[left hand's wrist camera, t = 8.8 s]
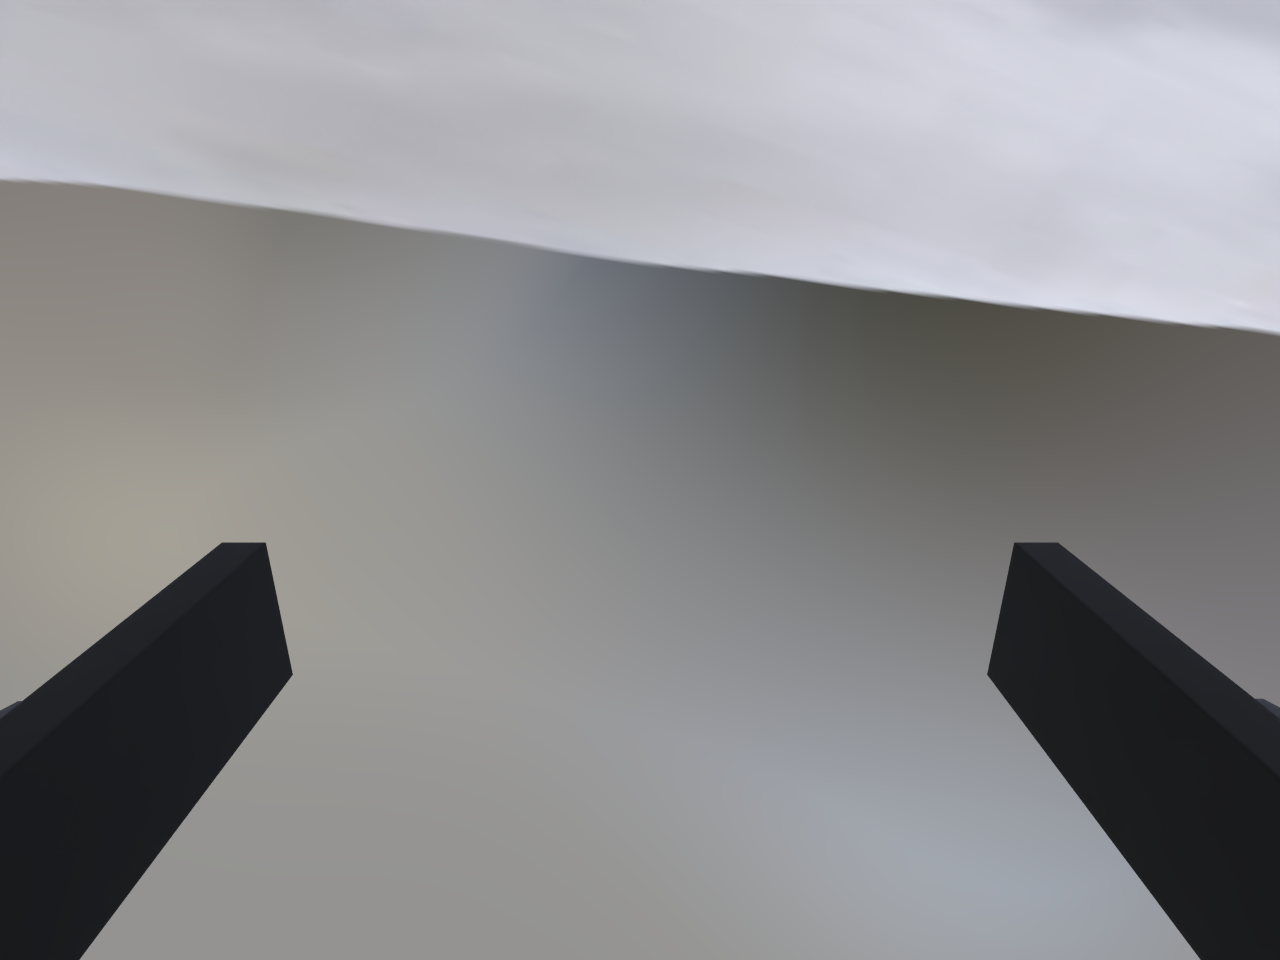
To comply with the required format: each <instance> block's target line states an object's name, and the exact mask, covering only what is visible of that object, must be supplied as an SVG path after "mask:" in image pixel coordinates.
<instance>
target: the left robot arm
mask: <svg viewBox="0 0 1280 960" xmlns="http://www.w3.org/2000/svg"><path fill="white" fill-rule="evenodd" d="M292 675H293V673H292V669H291V664H290V659H289V654H288V649H287V644H286V639H285V635H284V630H283V625H282V620H281V615H280V610H279V605H278V600H277V595H276V591H275V586H274V581H273V576H272V571H271V566H270V561H269V556H268V551H267V547H266V543H221V544H220V545H219V546H217V547H216V548H215V549H213V550H212V551H211V552H210V553H208V554H207V555H206V556H205V557H203V558H202V559H201V560H200V561H198V562H197V563H196V564H195V565H193V566H192V567H191V568H190V569H188V570H187V571H186V572H184V573H183V574H182V575H181V576H179V577H178V578H177V579H176V580H174V581H173V582H172V583H171V584H169V585H168V586H167V587H166V588H164V589H163V590H162V591H161V592H159V593H158V594H157V595H155V596H154V597H153V598H152V599H150V600H149V601H148V602H147V603H145V604H144V605H143V606H142V607H140V608H139V609H138V610H137V611H135V612H134V613H133V614H132V615H130V616H129V617H128V618H126V619H125V620H124V621H123V622H121V623H120V624H119V625H118V626H116V627H115V628H114V629H113V630H111V631H110V632H109V633H108V634H106V635H105V636H104V637H103V638H101V639H100V640H99V641H98V642H96V643H95V644H94V645H92V646H91V647H90V648H89V649H87V650H86V651H85V652H84V653H82V654H81V655H80V656H79V657H77V658H76V659H75V660H74V661H72V662H71V663H70V664H69V665H67V666H66V667H65V668H63V669H62V670H61V671H60V672H58V673H57V674H56V675H55V676H53V677H52V678H51V679H50V680H48V681H47V682H46V683H45V684H43V685H42V686H41V687H40V688H38V689H37V690H36V691H35V692H33V693H32V694H31V695H29V696H28V697H27V698H26V699H24V700H23V701H18V702H16V703H14V704H12V705H10V706H8V707H6V708H4V709H2V710H1V711H0V960H79V959H80V958H81V957H82V955H83V954H84V953H85V951H86V950H87V949H88V947H89V946H90V945H91V943H92V942H93V941H94V939H95V938H96V937H97V935H98V934H99V933H100V931H101V930H102V929H103V927H104V926H105V925H106V923H107V922H108V921H109V919H110V918H111V917H112V915H113V914H114V913H115V911H116V910H117V909H118V907H119V906H120V905H121V903H122V902H123V901H124V899H125V898H126V897H127V895H128V894H129V893H130V891H131V890H132V889H133V887H134V886H135V885H136V883H137V882H138V881H139V879H140V878H141V877H142V875H143V874H144V873H145V871H146V870H147V869H148V867H149V866H150V865H151V863H152V862H153V861H154V859H155V858H156V856H157V855H158V854H159V853H160V851H161V850H162V848H163V847H164V846H165V845H166V843H167V842H168V840H169V839H170V838H171V837H172V835H173V834H174V832H175V831H176V830H177V828H178V827H179V826H180V825H181V823H182V822H183V820H184V819H185V818H186V816H187V815H188V814H189V812H190V811H191V810H192V808H193V807H194V806H195V804H196V803H197V802H198V800H199V799H200V798H201V796H202V795H203V794H204V792H205V791H206V790H207V788H208V787H209V786H210V784H211V783H212V782H213V780H214V779H215V778H216V776H217V775H218V774H219V772H220V771H221V770H222V768H223V767H224V766H225V764H226V763H227V762H228V760H229V759H230V758H231V756H232V755H233V754H234V752H235V751H236V750H237V748H238V747H239V746H240V744H241V743H242V742H243V740H244V739H245V738H246V736H247V735H248V734H249V732H250V731H251V730H252V728H253V727H254V726H255V724H256V723H257V722H258V720H259V719H260V718H261V716H262V715H263V714H264V712H265V711H266V710H267V708H268V707H269V706H270V704H271V703H272V702H273V700H274V699H275V698H276V696H277V695H278V694H279V692H280V691H281V690H282V688H283V687H284V686H285V684H286V683H287V682H288V680H289V679H290V678H291V676H292ZM987 675H988V676H989V678H990V679H991V680H992V682H993V683H994V684H995V686H996V687H997V688H998V690H999V691H1000V692H1001V694H1002V695H1003V696H1004V698H1005V699H1006V700H1007V702H1008V703H1009V704H1010V706H1011V707H1012V708H1013V710H1014V711H1015V712H1016V714H1017V715H1018V716H1019V718H1020V719H1021V720H1022V722H1023V723H1024V724H1025V726H1026V727H1027V728H1028V730H1029V731H1030V732H1031V734H1032V735H1033V736H1034V738H1035V739H1036V740H1037V742H1038V743H1039V744H1040V746H1041V747H1042V748H1043V750H1044V751H1045V752H1046V754H1047V755H1048V756H1049V758H1050V759H1051V760H1052V762H1053V763H1054V764H1055V766H1056V767H1057V768H1058V770H1059V771H1060V772H1061V774H1062V775H1063V776H1064V778H1065V779H1066V780H1067V782H1068V783H1069V784H1070V786H1071V787H1072V788H1073V790H1074V791H1075V792H1076V794H1077V795H1078V796H1079V798H1080V799H1081V800H1082V802H1083V803H1084V804H1085V806H1086V807H1087V808H1088V810H1089V811H1090V812H1091V814H1092V815H1093V816H1094V818H1095V819H1096V821H1097V822H1098V823H1099V824H1100V826H1101V827H1102V829H1103V830H1104V831H1105V832H1106V834H1107V835H1108V837H1109V838H1110V839H1111V840H1112V842H1113V843H1114V845H1115V846H1116V847H1117V849H1118V850H1119V851H1120V852H1121V854H1122V855H1123V857H1124V858H1125V859H1126V861H1127V862H1128V863H1129V865H1130V866H1131V867H1132V869H1133V870H1134V871H1135V873H1136V874H1137V875H1138V877H1139V878H1140V879H1141V881H1142V882H1143V883H1144V885H1145V886H1146V887H1147V889H1148V890H1149V891H1150V893H1151V894H1152V895H1153V897H1154V898H1155V899H1156V901H1157V902H1158V903H1159V905H1160V906H1161V907H1162V909H1163V910H1164V911H1165V913H1166V914H1167V915H1168V917H1169V918H1170V919H1171V921H1172V922H1173V923H1174V925H1175V926H1176V927H1177V929H1178V930H1179V931H1180V933H1181V934H1182V935H1183V937H1184V938H1185V939H1186V941H1187V942H1188V943H1189V945H1190V946H1191V947H1192V949H1193V950H1194V951H1195V953H1196V954H1197V955H1198V957H1199V958H1200V959H1201V960H1280V708H1279V707H1278V706H1276V705H1274V704H1272V703H1270V702H1268V701H1266V700H1264V699H1254V698H1253V697H1252V696H1251V695H1249V694H1248V693H1247V692H1245V691H1244V690H1243V689H1242V688H1240V687H1239V686H1238V685H1237V684H1235V683H1234V682H1233V681H1232V680H1230V679H1229V678H1228V677H1227V676H1225V675H1224V674H1223V673H1222V672H1220V671H1219V670H1218V669H1217V668H1215V667H1214V666H1213V665H1211V664H1210V663H1209V662H1208V661H1206V660H1205V659H1204V658H1203V657H1201V656H1200V655H1199V654H1198V653H1196V652H1195V651H1194V650H1193V649H1191V648H1190V647H1189V646H1188V645H1186V644H1185V643H1184V642H1183V641H1181V640H1180V639H1179V638H1177V637H1176V636H1175V635H1174V634H1172V633H1171V632H1170V631H1169V630H1167V629H1166V628H1165V627H1164V626H1162V625H1161V624H1160V623H1159V622H1157V621H1156V620H1155V619H1154V618H1152V617H1151V616H1150V615H1148V614H1147V613H1146V612H1145V611H1143V610H1142V609H1141V608H1140V607H1138V606H1137V605H1136V604H1135V603H1133V602H1132V601H1131V600H1130V599H1128V598H1127V597H1126V596H1125V595H1123V594H1122V593H1121V592H1119V591H1118V590H1117V589H1116V588H1114V587H1113V586H1112V585H1111V584H1109V583H1108V582H1107V581H1106V580H1104V579H1103V578H1102V577H1101V576H1099V575H1098V574H1097V573H1096V572H1094V571H1093V570H1092V569H1090V568H1089V567H1088V566H1087V565H1086V564H1084V563H1083V562H1082V561H1080V560H1079V559H1078V558H1077V557H1075V556H1074V555H1073V554H1072V553H1070V552H1069V551H1068V550H1067V549H1065V548H1064V547H1063V546H1062V545H1060V544H1059V543H1014V547H1013V552H1012V557H1011V561H1010V566H1009V571H1008V576H1007V581H1006V586H1005V591H1004V595H1003V600H1002V605H1001V610H1000V615H999V620H998V625H997V630H996V635H995V639H994V644H993V649H992V654H991V659H990V664H989V669H988V674H987Z"/></svg>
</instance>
